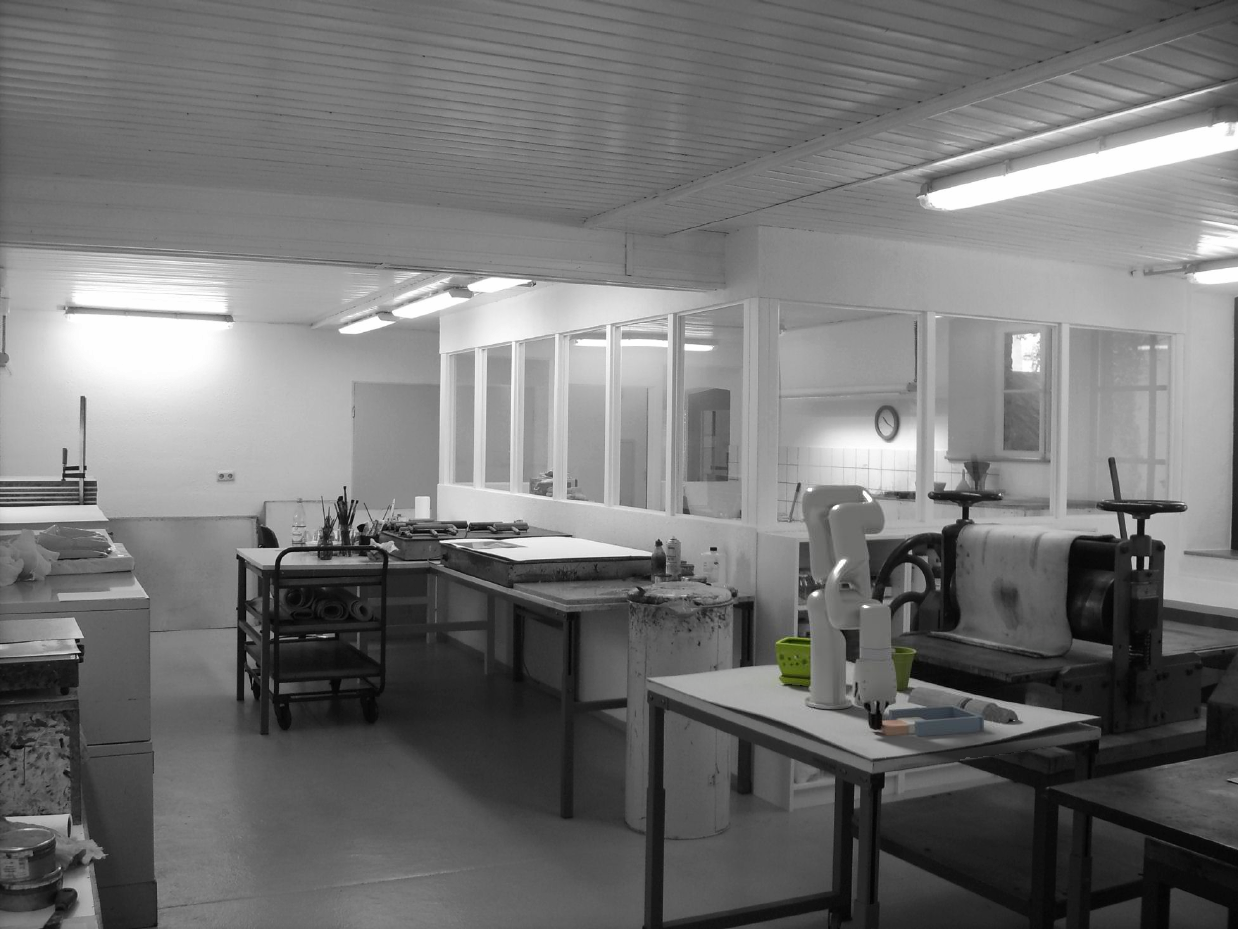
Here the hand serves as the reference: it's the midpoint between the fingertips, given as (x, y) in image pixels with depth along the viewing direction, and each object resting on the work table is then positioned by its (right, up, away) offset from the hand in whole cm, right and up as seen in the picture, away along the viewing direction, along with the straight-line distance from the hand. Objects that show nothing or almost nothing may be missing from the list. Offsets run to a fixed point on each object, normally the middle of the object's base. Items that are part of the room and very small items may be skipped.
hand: (875, 728), depth 262 cm
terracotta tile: (+4, -1, +1) cm, 5 cm away
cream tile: (+10, -1, +3) cm, 11 cm away
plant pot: (+18, -1, +51) cm, 54 cm away
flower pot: (-8, -1, +58) cm, 59 cm away
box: (+16, -1, +5) cm, 17 cm away
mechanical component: (+29, -2, +23) cm, 37 cm away
